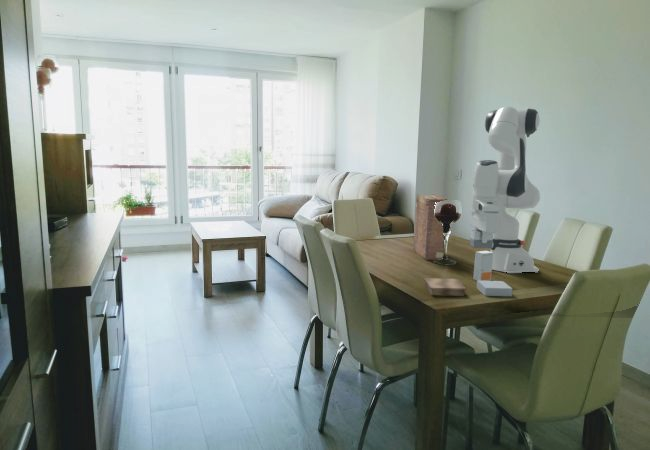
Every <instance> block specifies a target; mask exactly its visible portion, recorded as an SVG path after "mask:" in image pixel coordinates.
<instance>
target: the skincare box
mask: <svg viewBox="0 0 650 450" xmlns="http://www.w3.org/2000/svg"><path fill="white" fill-rule="evenodd" d="M474 255H475V256H474V265H473V266H474V268H473V277H472V278H473V280H474V281H477V280H479V281H492V271H493V270H492V262H493V253H492V252H490V251H489V250H480V251H478V250H477V251H475V254H474Z"/></svg>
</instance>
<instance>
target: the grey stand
mask: <svg viewBox="0 0 650 450" xmlns="http://www.w3.org/2000/svg"><path fill="white" fill-rule="evenodd" d="M476 289H477V290H479V292H480V293H482V295H484V296H487V297H488V296H489V297H513V287H511V286H510V285H509V284H507V283H506V282H505V281H503V280H490V281H479V280H476Z"/></svg>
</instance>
